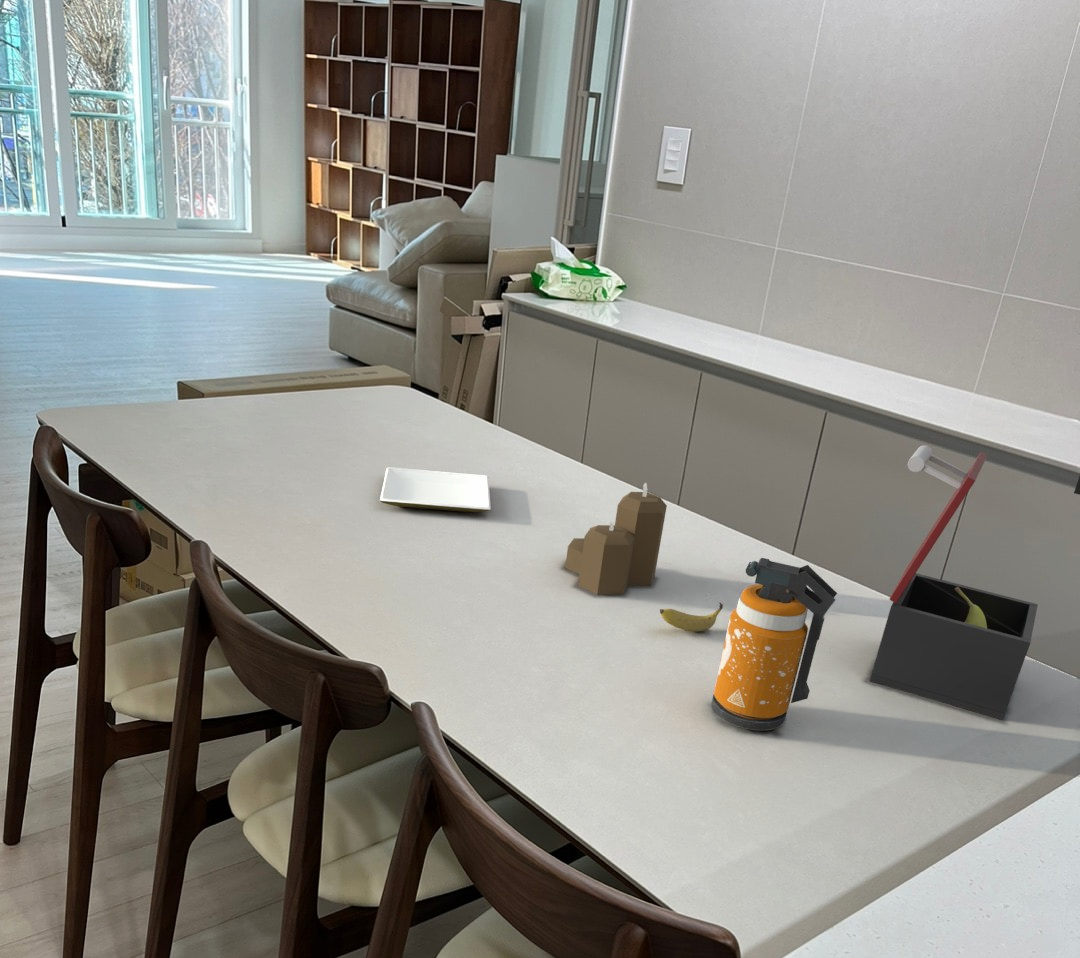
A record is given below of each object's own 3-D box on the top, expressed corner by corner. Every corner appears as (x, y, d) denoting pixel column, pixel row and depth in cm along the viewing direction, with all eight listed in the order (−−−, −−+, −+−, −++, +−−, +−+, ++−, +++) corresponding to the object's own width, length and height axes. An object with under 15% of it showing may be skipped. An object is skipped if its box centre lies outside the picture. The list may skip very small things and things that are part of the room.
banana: (660, 638, 146) (665, 611, 144) (652, 630, 147) (657, 604, 146) (722, 632, 150) (728, 606, 148) (713, 625, 151) (718, 599, 150)
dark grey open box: (1011, 676, 147) (1038, 604, 142) (1002, 720, 135) (1030, 642, 130) (889, 642, 153) (909, 571, 148) (869, 681, 141) (891, 605, 136)
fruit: (977, 695, 138) (1006, 611, 133) (921, 675, 142) (947, 592, 136) (991, 679, 143) (1020, 598, 138) (937, 659, 147) (962, 580, 141)
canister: (717, 691, 133) (750, 542, 124) (805, 714, 131) (845, 563, 121) (703, 723, 126) (736, 566, 116) (796, 747, 123) (838, 589, 114)
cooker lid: (987, 455, 138) (932, 426, 139) (975, 480, 125) (914, 449, 127) (914, 569, 147) (862, 541, 149) (895, 603, 135) (840, 572, 137)
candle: (639, 559, 171) (654, 469, 164) (670, 594, 160) (687, 499, 153) (559, 559, 168) (570, 467, 160) (584, 594, 156) (598, 497, 149)
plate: (487, 485, 197) (488, 475, 196) (489, 520, 180) (490, 508, 179) (386, 477, 195) (386, 466, 194) (379, 510, 178) (379, 499, 177)
